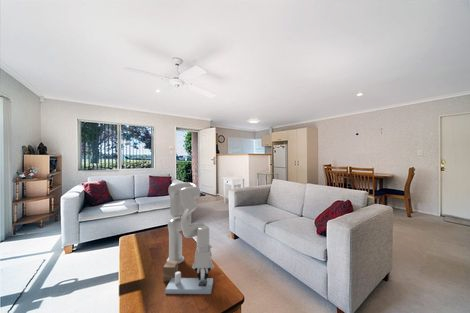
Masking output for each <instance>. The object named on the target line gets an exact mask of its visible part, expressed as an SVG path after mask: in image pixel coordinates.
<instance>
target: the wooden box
mask: <svg viewBox="0 0 470 313" xmlns="http://www.w3.org/2000/svg"><path fill="white" fill-rule="evenodd" d="M162 268H163V269H162V270H163V272H162V280H163V282H170V280H171V278H175V273H176V272H179V264H178V261H167V260H166V262H165V264H164V265H163V266H162Z"/></svg>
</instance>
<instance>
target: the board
mask: <svg viewBox="0 0 470 313" xmlns="http://www.w3.org/2000/svg"><path fill="white" fill-rule="evenodd" d="M213 285H214V278H213V277H211V278H210V277H208V278H207V280H206V284H205V285H204V286H201V285H200V280H199V278H198V277H182V272H181V271H178V272H176V273H175V278H171V280H170V281H168V284H167V285H166V287H165V289H164V290H165V294H170V295H171V294H173V295H174V294H175V295H177V294H178V295H183V294H184V295H188V294H189V295H211V294H212V290H213Z"/></svg>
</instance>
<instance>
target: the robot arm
mask: <svg viewBox="0 0 470 313" xmlns="http://www.w3.org/2000/svg"><path fill="white" fill-rule="evenodd" d="M167 192H168V195H169V198H170V199H169V200H170V202H169V203H170V204H169V205H170V206H169V207H170V208H169V209H170V210H169V213H170V216H171V218H172V219H170V220H169V221H168V222H167V230H168V258H167V259H166V262H167V261H178V265H179V264H181V263H183V262H184V261H185V257H184V255H183V237H184V238H186V239H191V238H195V237H196V249H195V252H194V260H193V261H194V262H193V264H192V266H191V268H192V269H193V270H195V272H196V273H197V278H199V280H200V268H206V273H205V280H207V278H209V272H210V271H211V270H213V269H215V265H214V263H213V259H212V247H213V246H212V245H210V244H211V243H210V227H209V226H208V225H206V224H205V223H204V222H202V221H201V222H195V223H192V212H194V211H196V209H197V207H198V206H197V203H196V200H195V199H198V198H200V197H201V189H200V188H199V186H197V185H196V184H195V183H192V182H190V181H188V182H175V183H174V182H173V183H171V184H170V185H169V186H168V191H167ZM180 231H182V234H181V233H180Z"/></svg>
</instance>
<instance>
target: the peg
mask: <svg viewBox="0 0 470 313" xmlns="http://www.w3.org/2000/svg"><path fill="white" fill-rule="evenodd" d="M205 273H206V268H200V285H199V286H206V285H205V284H206V280H205Z"/></svg>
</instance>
